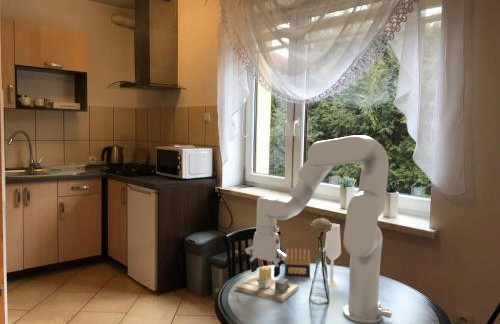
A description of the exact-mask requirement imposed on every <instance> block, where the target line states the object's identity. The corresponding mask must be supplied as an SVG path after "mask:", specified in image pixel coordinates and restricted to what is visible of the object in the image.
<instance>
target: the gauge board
mask: <svg viewBox="0 0 500 324" xmlns="http://www.w3.org/2000/svg"><path fill="white" fill-rule="evenodd" d="M258 280H259V275H254V274H253V275H251V276H250V277H248V278H246V279H245V280H244V281H241V282H240V283H238V284H236V285H235V291H238V292H243V293H246V294H247V293H248V294H250V295H255V296H258V297H262V298H266V299H271V300H273V301H277V302H282V303H283V302H285V301H286V300H287V299H288V298H289V297H291V296H292V295H293V294H294V293H295V292H297V291H298V290H299V284H294V283H290V282H289V279H288V278H282V277H280V278H279V279H278V280H277V279H273V281H272V282H271V285H270V286H269V287H267V288H266V289H263V288H259V287H258Z"/></svg>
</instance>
